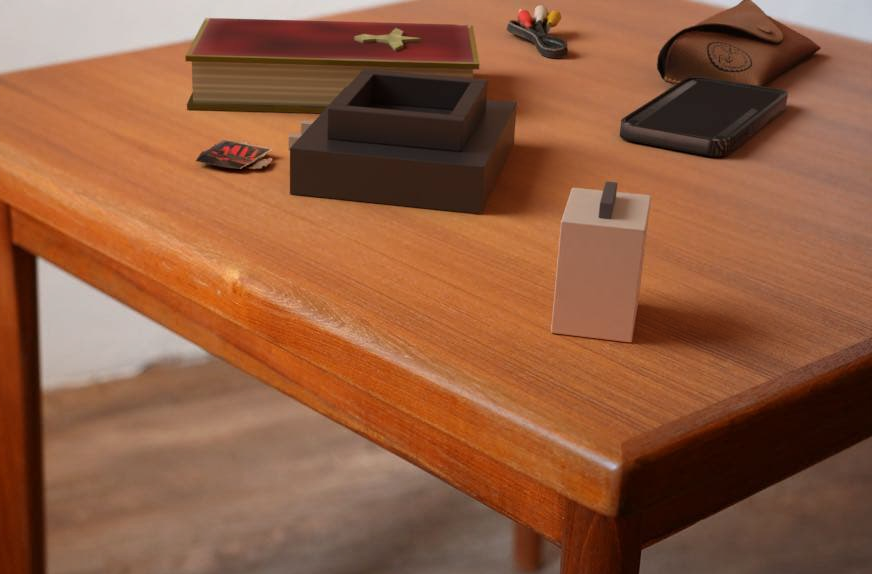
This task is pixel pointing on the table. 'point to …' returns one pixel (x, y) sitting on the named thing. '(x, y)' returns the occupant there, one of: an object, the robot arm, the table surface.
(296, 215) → the table surface
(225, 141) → the matchbox
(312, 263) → the table surface
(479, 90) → the stepped square holder
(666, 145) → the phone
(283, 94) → the hardcover book
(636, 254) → the block
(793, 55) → the sunglasses case
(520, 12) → the composite cable
